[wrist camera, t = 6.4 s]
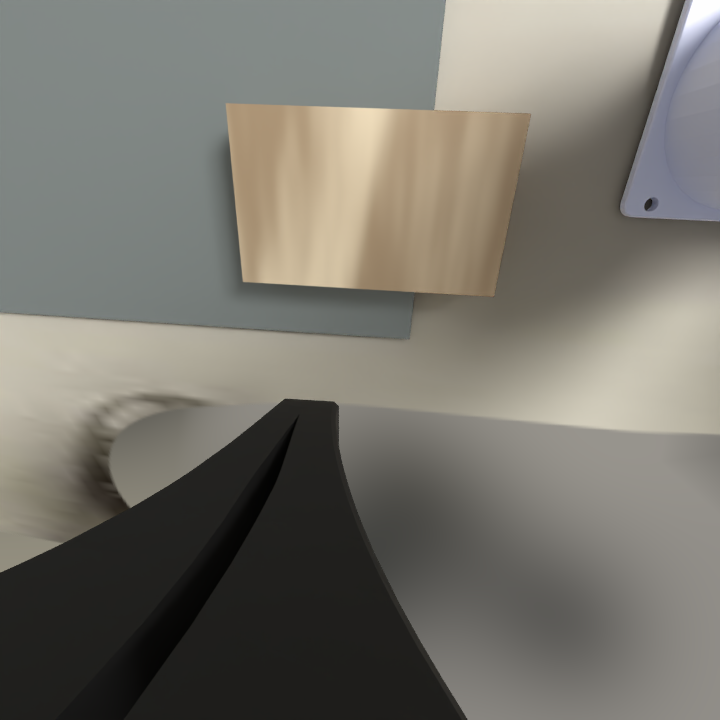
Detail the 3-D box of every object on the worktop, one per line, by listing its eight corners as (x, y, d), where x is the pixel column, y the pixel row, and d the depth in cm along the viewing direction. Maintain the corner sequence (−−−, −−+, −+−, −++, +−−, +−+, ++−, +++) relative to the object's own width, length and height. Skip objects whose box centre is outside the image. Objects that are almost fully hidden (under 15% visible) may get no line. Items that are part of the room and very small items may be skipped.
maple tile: (251, 116, 14) (508, 125, 14) (262, 269, 17) (479, 281, 16) (225, 103, 12) (531, 113, 12) (242, 281, 15) (494, 296, 14)
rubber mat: (458, -136, 12) (461, -150, 11) (409, 335, 18) (409, 339, 18) (-182, -136, 13) (-203, -148, 12) (-4, 308, 20) (-13, 311, 19)
